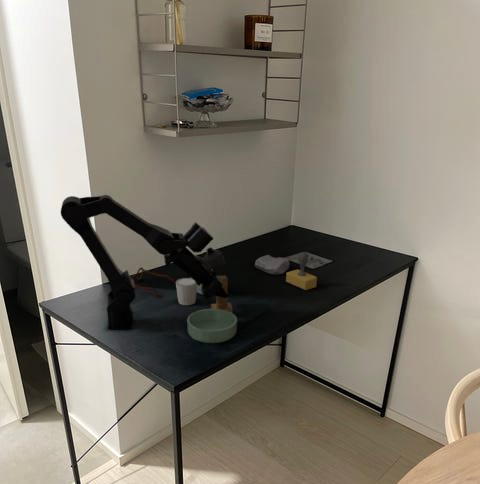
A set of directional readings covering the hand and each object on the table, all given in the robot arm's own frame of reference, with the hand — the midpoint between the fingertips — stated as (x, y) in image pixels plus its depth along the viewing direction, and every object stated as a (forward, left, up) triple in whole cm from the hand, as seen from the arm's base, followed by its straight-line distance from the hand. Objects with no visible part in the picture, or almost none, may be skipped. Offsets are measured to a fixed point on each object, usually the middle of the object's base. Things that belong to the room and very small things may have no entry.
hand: (226, 295), depth 149 cm
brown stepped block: (-1, 0, -7) cm, 7 cm away
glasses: (-25, +22, -7) cm, 34 cm away
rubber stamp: (+28, +24, -7) cm, 37 cm away
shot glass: (-12, +10, -7) cm, 17 cm away
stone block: (+19, +39, -7) cm, 44 cm away
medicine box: (-7, +18, -7) cm, 20 cm away
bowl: (-4, -11, -7) cm, 14 cm away
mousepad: (+40, +47, -7) cm, 62 cm away
